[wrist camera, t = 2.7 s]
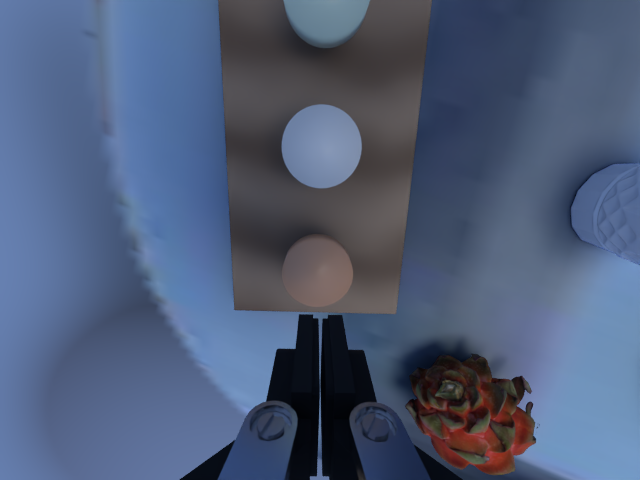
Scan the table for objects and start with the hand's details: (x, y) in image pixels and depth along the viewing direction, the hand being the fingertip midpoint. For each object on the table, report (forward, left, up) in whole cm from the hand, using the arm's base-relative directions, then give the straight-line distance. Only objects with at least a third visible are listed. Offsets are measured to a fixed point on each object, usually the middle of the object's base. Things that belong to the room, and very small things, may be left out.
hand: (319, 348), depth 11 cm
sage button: (-15, 0, -10) cm, 18 cm away
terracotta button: (0, 0, -10) cm, 10 cm away
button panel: (-8, 0, -13) cm, 15 cm away
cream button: (-8, 0, -10) cm, 13 cm away
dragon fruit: (+13, +13, -14) cm, 23 cm away
